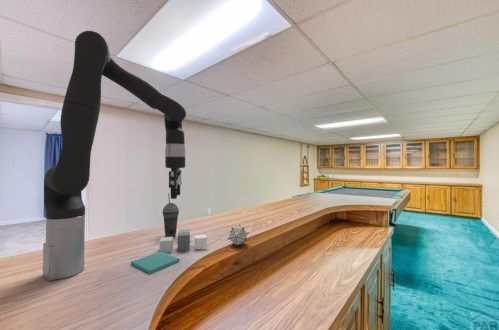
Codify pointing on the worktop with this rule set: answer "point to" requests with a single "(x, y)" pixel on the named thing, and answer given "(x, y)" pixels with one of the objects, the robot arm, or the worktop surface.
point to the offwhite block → (200, 241)
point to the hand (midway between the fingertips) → (175, 196)
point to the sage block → (184, 230)
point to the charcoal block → (183, 241)
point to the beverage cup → (170, 219)
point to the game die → (238, 235)
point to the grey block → (166, 244)
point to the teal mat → (155, 262)
